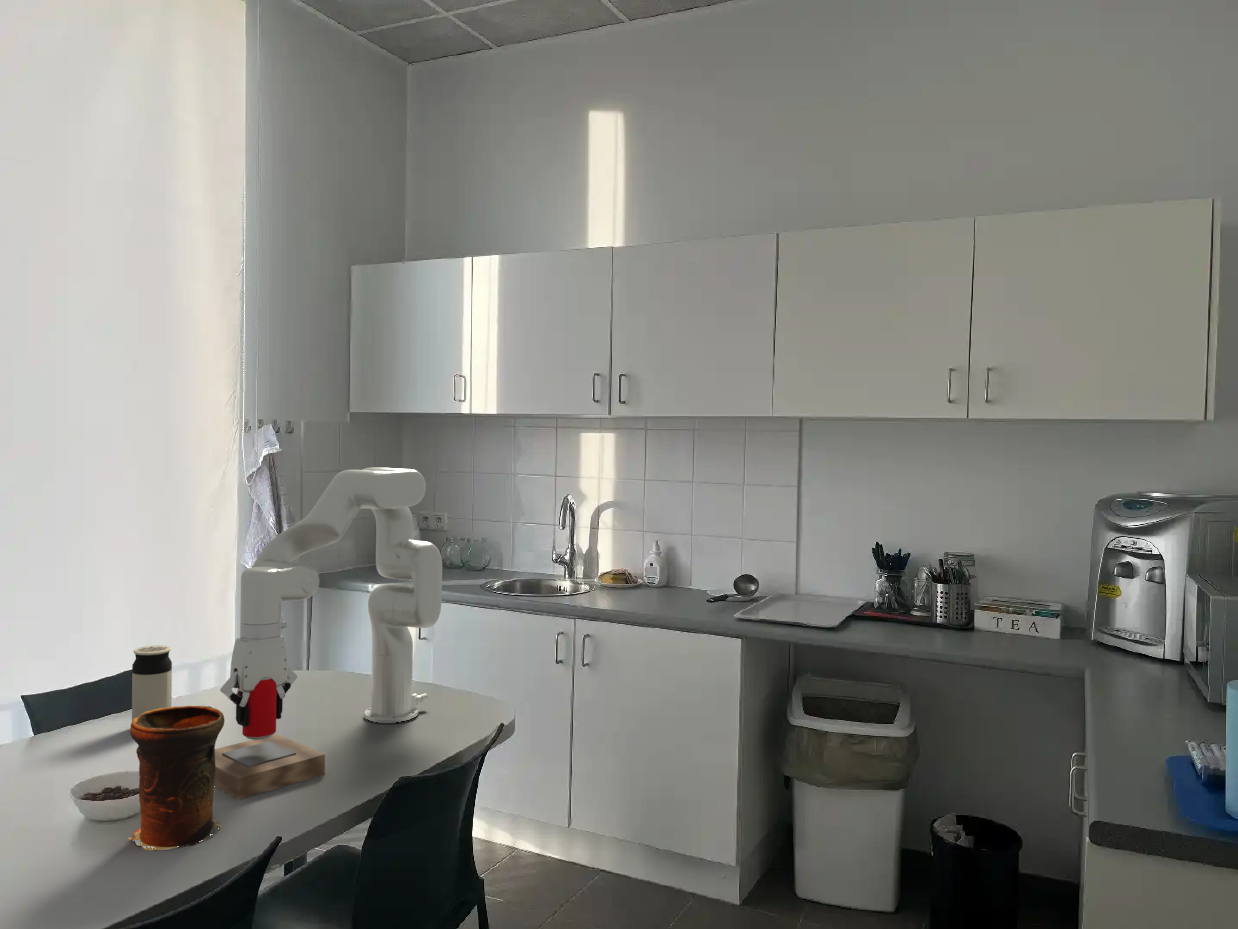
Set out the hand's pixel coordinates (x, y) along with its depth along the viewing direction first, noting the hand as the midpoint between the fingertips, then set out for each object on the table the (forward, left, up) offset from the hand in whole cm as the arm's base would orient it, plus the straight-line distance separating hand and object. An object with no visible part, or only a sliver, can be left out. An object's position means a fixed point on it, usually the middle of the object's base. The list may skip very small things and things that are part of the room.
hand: (259, 720), depth 187 cm
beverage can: (0, 0, -3) cm, 3 cm away
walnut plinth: (0, 0, -11) cm, 11 cm away
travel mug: (+2, -43, -11) cm, 44 cm away
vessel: (+23, +15, -11) cm, 30 cm away
